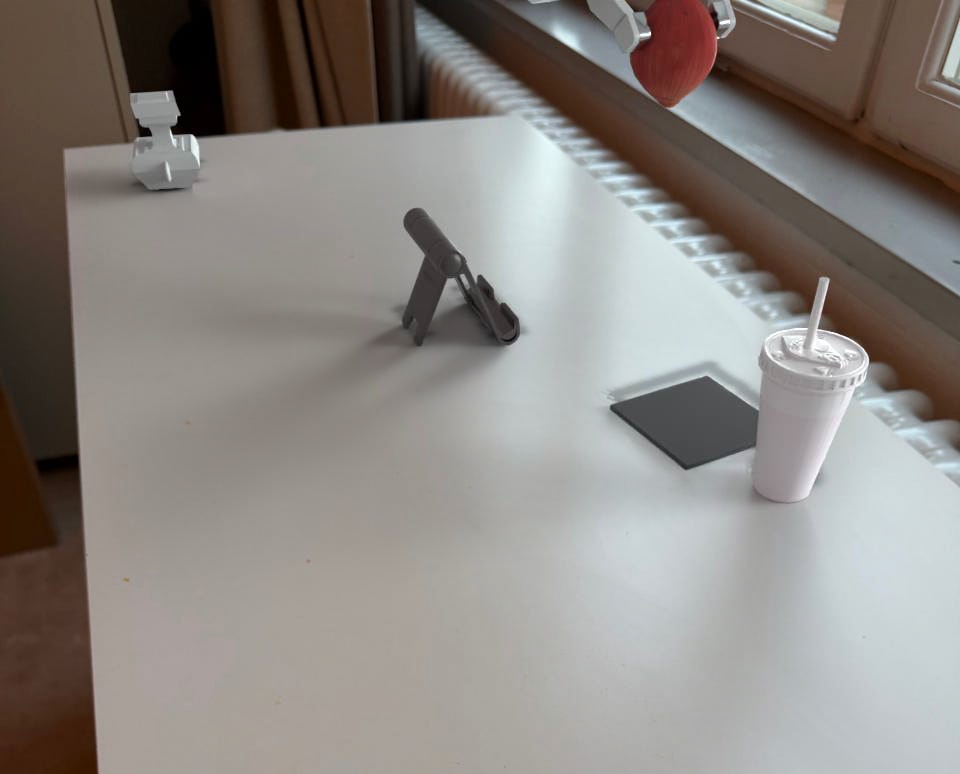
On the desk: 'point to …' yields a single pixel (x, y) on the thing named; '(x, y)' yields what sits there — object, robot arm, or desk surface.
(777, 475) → the smoothie
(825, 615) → the desk surface
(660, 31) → the onion
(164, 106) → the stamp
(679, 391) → the coaster
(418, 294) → the tablet stand
